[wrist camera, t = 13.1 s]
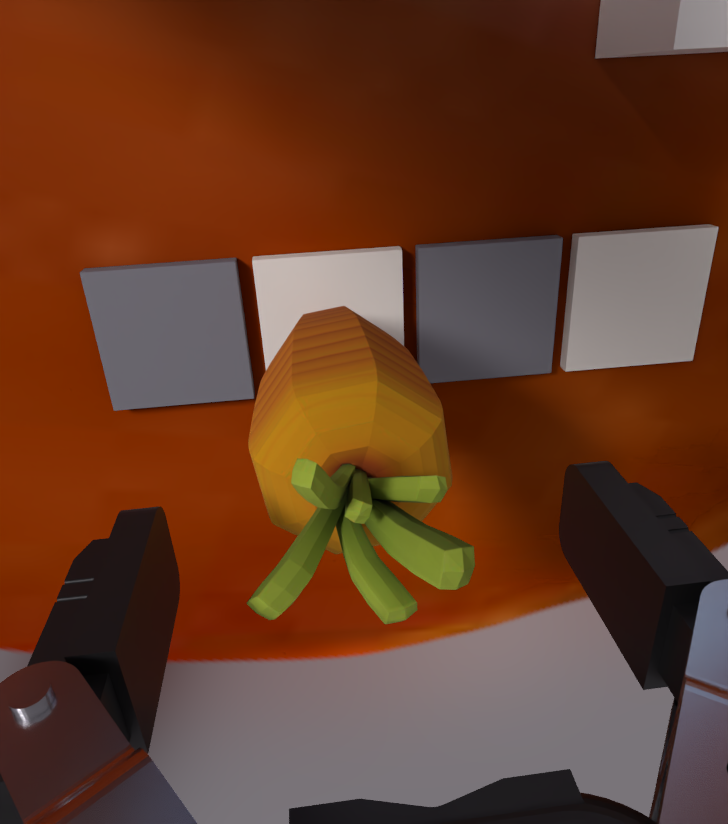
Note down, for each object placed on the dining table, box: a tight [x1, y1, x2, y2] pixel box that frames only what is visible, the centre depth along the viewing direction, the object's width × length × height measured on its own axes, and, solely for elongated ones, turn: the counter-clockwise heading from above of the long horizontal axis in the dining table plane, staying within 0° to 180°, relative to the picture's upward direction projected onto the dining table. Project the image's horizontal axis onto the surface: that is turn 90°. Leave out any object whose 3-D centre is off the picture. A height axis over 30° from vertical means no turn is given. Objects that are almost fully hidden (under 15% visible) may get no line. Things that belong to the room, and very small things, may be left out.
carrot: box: [247, 306, 475, 624], centre depth 18 cm, size 5×5×15 cm
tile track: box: [80, 224, 719, 411], centre depth 25 cm, size 5×23×1 cm, turn 93°
